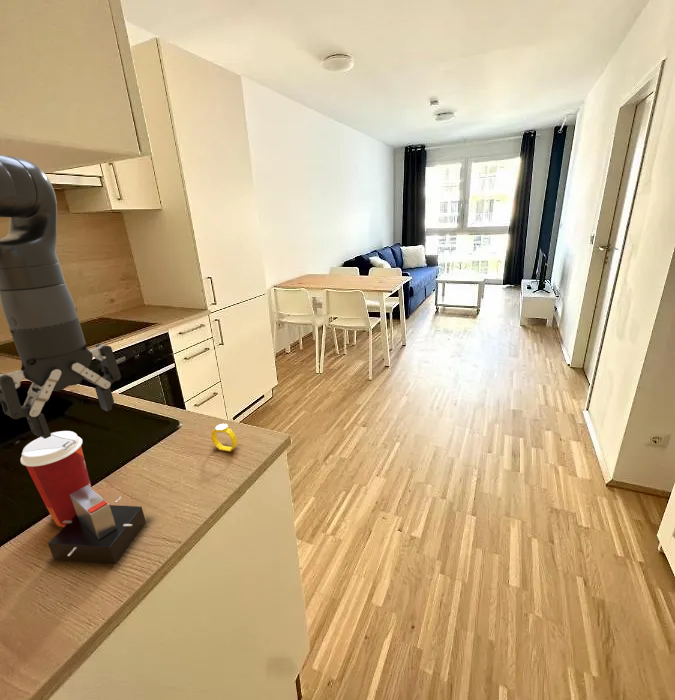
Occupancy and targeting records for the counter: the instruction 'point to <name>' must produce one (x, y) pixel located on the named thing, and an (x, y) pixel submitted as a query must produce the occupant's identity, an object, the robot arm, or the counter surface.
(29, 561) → the counter surface
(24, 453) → the coffee cup
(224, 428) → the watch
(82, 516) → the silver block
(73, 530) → the black square block
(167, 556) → the counter surface
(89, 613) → the counter surface
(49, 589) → the counter surface
